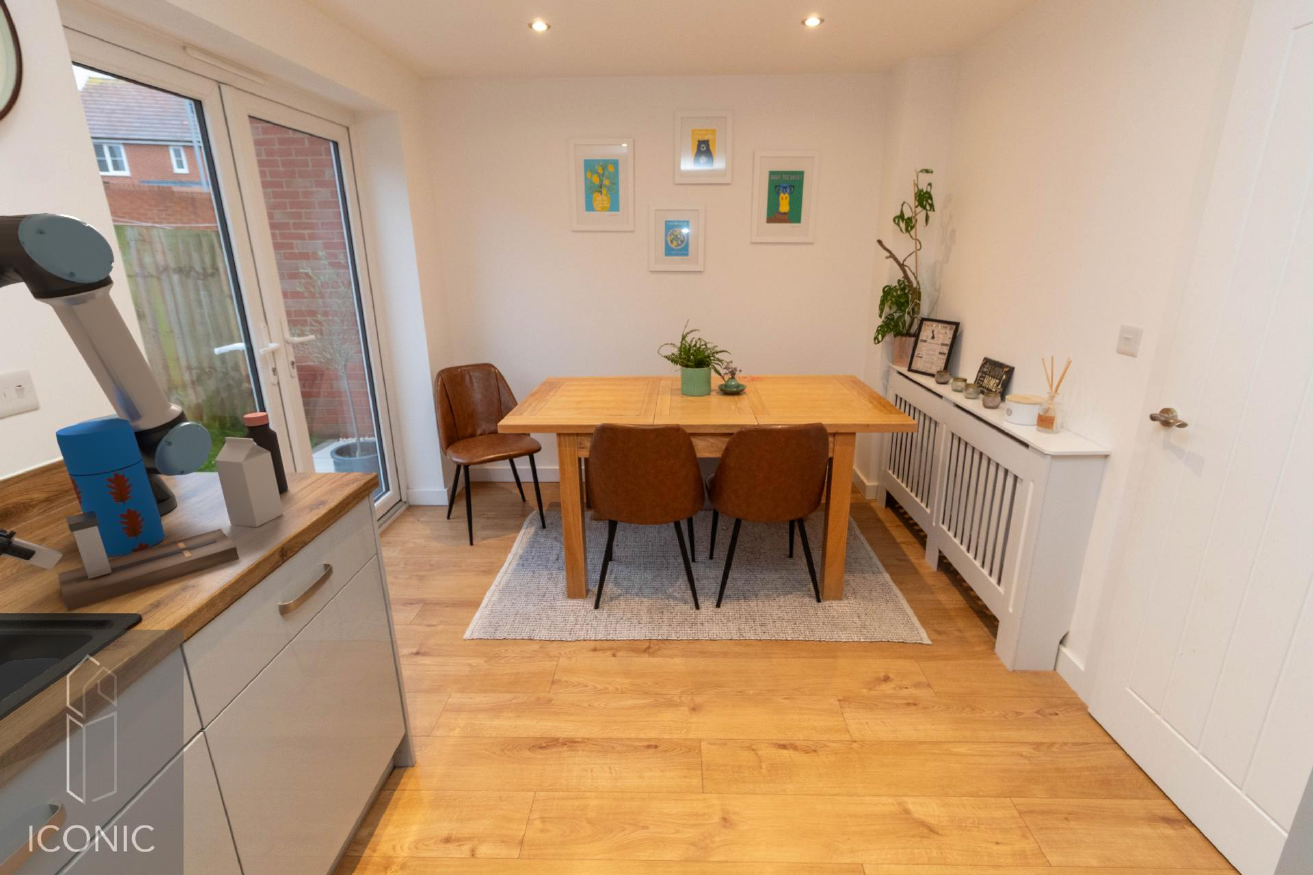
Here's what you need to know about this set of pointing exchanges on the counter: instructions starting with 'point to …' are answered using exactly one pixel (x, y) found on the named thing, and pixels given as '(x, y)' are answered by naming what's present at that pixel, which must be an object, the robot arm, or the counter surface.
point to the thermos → (112, 483)
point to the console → (147, 568)
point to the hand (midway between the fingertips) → (56, 561)
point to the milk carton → (248, 482)
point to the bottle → (266, 444)
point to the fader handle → (89, 543)
